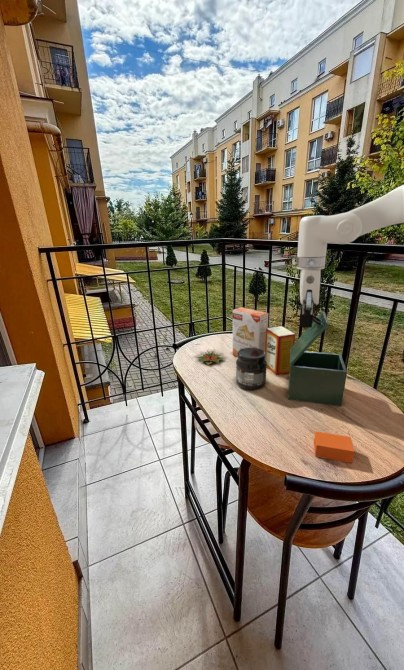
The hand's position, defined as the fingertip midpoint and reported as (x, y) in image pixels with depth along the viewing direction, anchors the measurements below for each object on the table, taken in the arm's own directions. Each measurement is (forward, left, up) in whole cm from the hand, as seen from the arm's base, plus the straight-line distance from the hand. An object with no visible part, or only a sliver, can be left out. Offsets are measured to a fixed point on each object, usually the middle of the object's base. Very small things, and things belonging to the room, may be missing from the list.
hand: (305, 323), depth 85 cm
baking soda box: (+13, -10, -24) cm, 29 cm away
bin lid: (-1, -1, -5) cm, 5 cm away
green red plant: (+39, 0, -24) cm, 46 cm away
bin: (-4, -2, -24) cm, 24 cm away
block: (-18, +21, -24) cm, 36 cm away
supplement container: (+15, +6, -24) cm, 29 cm away
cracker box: (+27, -11, -24) cm, 38 cm away
